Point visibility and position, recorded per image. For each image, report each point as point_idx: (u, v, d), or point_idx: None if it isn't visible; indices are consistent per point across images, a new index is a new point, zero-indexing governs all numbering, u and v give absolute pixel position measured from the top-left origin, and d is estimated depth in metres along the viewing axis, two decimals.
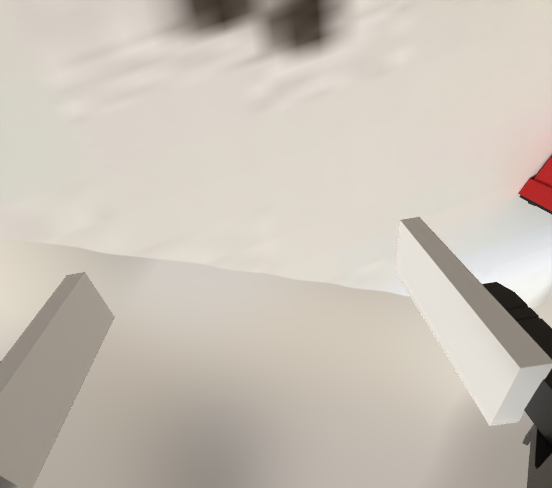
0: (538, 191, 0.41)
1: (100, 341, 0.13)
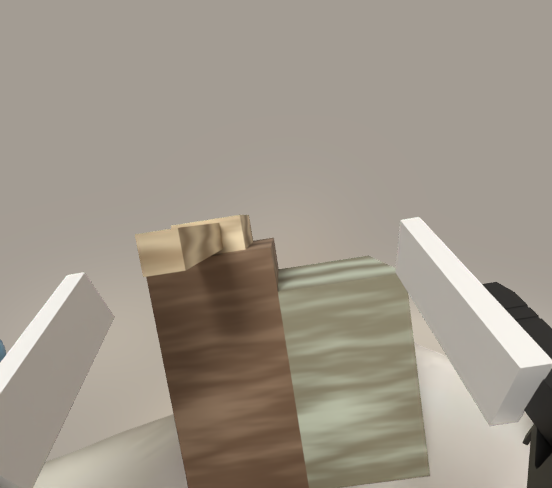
0: None
1: (100, 341, 0.13)
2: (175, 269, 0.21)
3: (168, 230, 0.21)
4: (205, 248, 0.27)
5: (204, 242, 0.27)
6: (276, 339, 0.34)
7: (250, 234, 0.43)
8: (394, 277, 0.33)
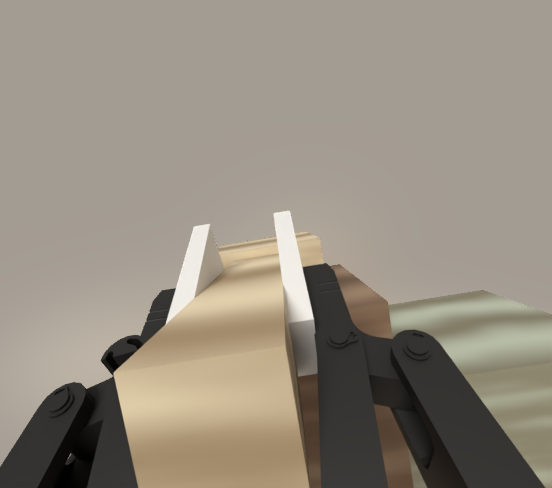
0: None
1: None
2: None
3: (247, 356, 0.05)
4: None
5: None
6: (394, 471, 0.18)
7: None
8: None
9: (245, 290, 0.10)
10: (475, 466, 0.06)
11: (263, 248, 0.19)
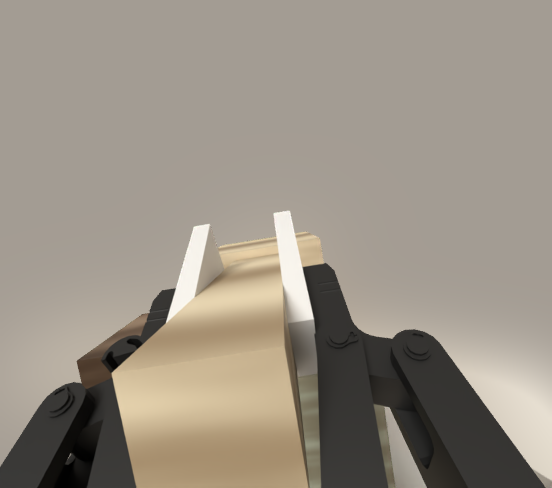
0: None
1: None
2: None
3: (246, 356, 0.05)
4: None
5: None
6: None
7: None
8: None
9: (244, 290, 0.10)
10: (475, 466, 0.06)
11: (263, 248, 0.19)
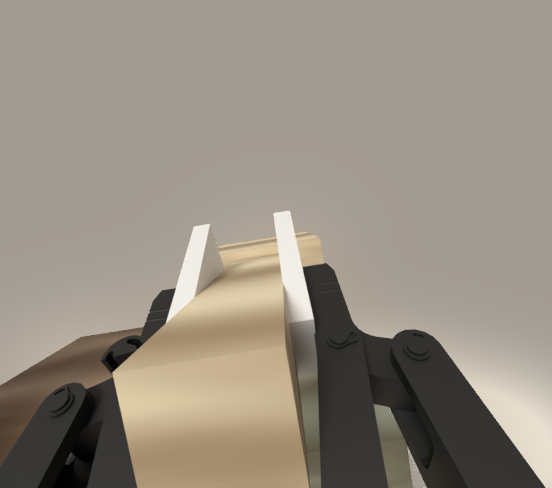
0: None
1: None
2: None
3: (247, 355, 0.05)
4: None
5: None
6: None
7: None
8: (385, 447, 0.18)
9: (245, 290, 0.10)
10: (475, 466, 0.06)
11: (263, 248, 0.19)
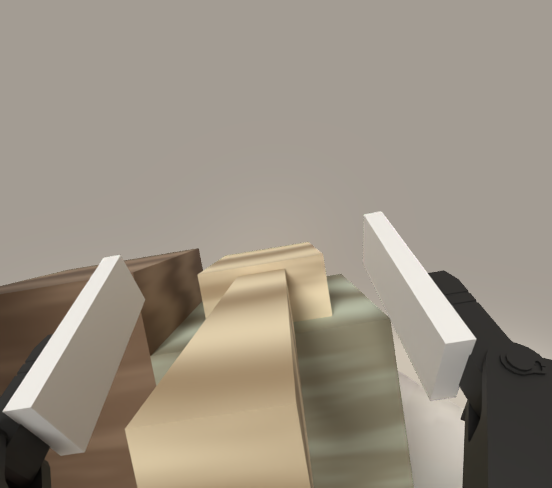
0: None
1: (134, 321, 0.13)
2: None
3: (258, 412, 0.05)
4: (296, 356, 0.12)
5: (294, 342, 0.12)
6: None
7: None
8: (369, 328, 0.17)
9: (251, 320, 0.10)
10: None
11: (266, 264, 0.19)
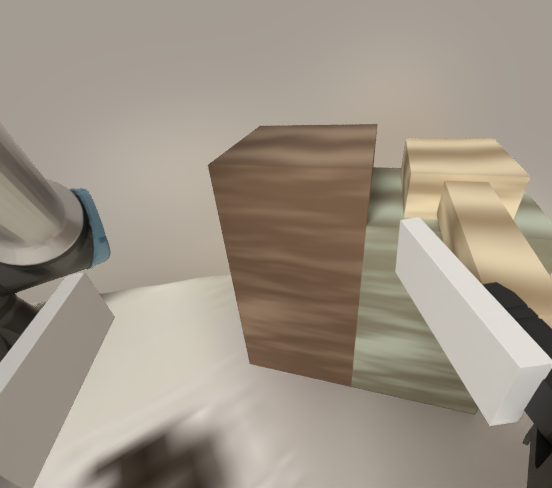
0: None
1: (100, 341, 0.13)
2: None
3: None
4: None
5: None
6: (351, 272, 0.29)
7: None
8: (545, 243, 0.22)
9: (505, 248, 0.16)
10: None
11: (473, 175, 0.23)
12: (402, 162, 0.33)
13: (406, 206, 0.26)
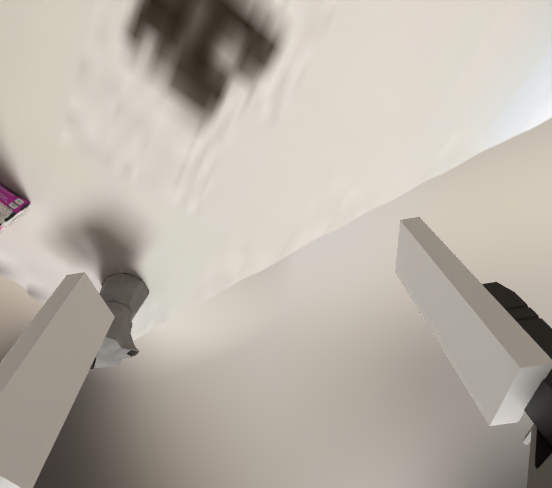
0: None
1: (100, 341, 0.13)
2: None
3: None
4: None
5: None
6: None
7: None
8: None
9: None
10: None
11: None
12: None
13: None
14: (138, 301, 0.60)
